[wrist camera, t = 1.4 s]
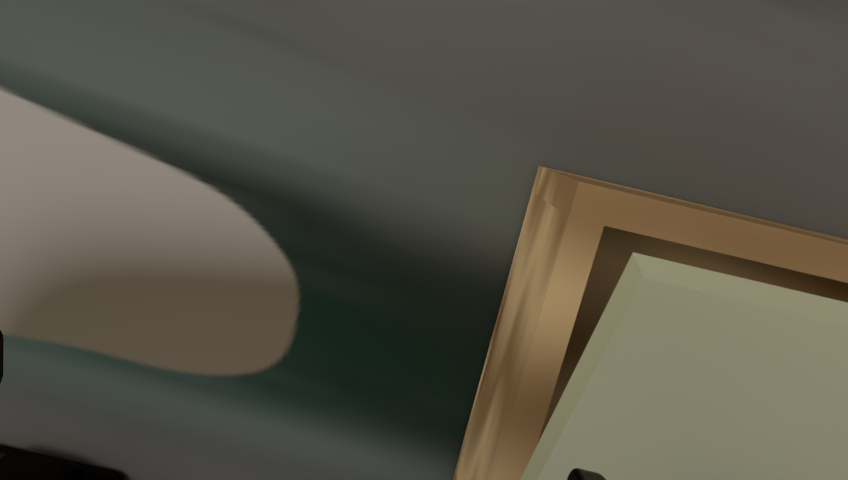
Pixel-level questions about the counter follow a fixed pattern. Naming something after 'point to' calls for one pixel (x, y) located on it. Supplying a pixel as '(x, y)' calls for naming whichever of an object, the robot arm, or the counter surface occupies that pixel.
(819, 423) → the lid
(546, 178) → the box
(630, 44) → the counter surface
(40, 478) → the robot arm
